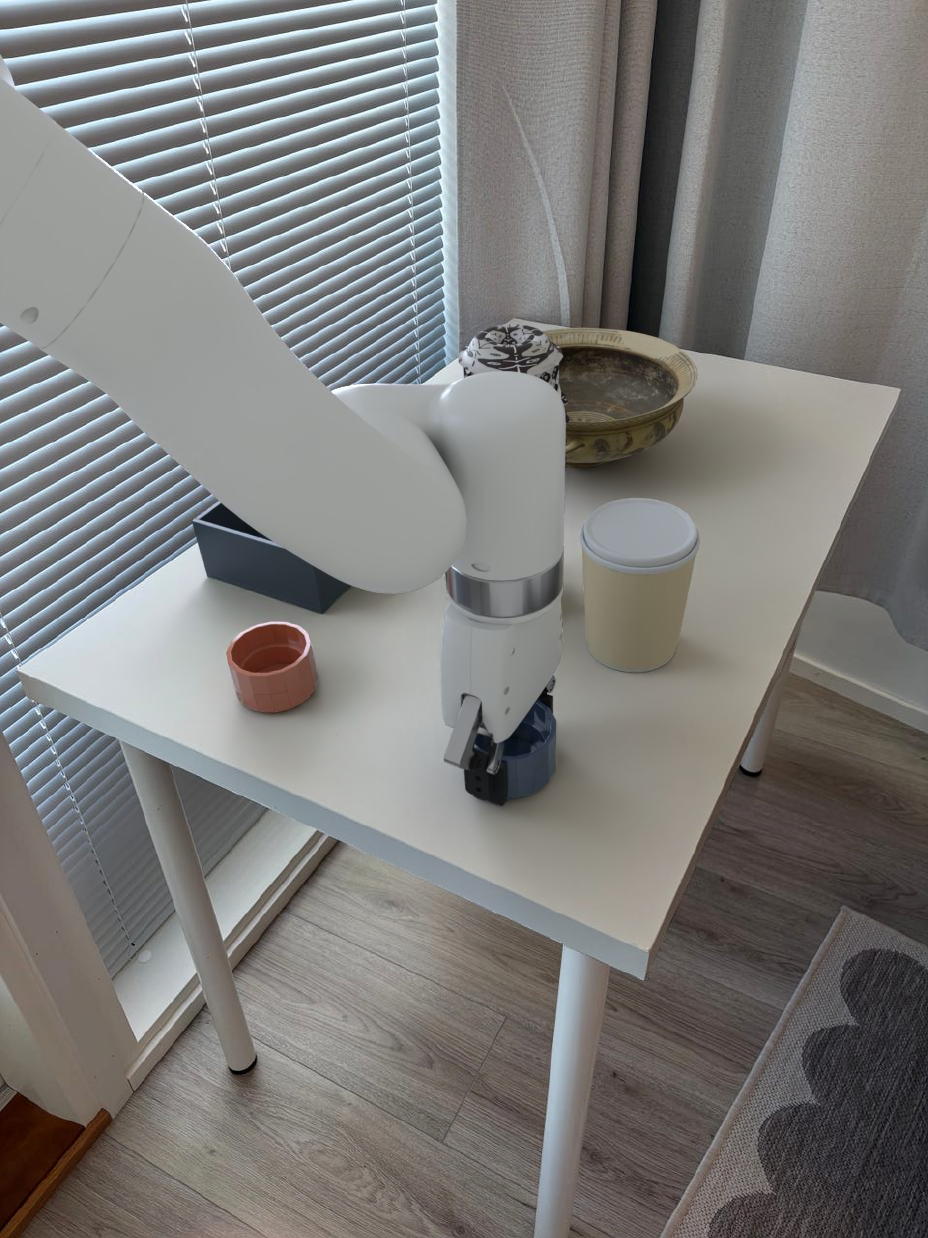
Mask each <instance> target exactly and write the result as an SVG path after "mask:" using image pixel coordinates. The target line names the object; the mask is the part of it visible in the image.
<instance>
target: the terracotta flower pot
mask: <svg viewBox="0 0 928 1238" xmlns="http://www.w3.org/2000/svg"><path fill="white" fill-rule="evenodd" d="M310 637H311V636H310V634H309V633H308V631H307V630H305V629H304V628H303V627H302V626H301V625H299V624H295V623H292V622H289V621H268V622H263V623H259V624H255V625H252V626H250V627H249V628H247V629H245V630H242V631H240V633H238V634H237V635H236V636H235V637H234V638H233V639H232V640H231V641H230V643H229V645H228V647H227V649H226V651H225V655H226V661H227V666H228V669H229V672H230V676H231V679H232V684H233V687H234V690H235V694H236V697H237V700H238V701H239V702H240V703H241V704H242V705H243V706H244V707H246V708H248V709H250V710H253V711H256V712H259V713H260V712H261V713H269V714H271V713H281V712H285V711H289V710H291V709H294V708H296V707H297V706H299V705H301V704H303V703H304V702H306V701H307V700H308V699H309V697H311V695H313V693H314V692H315V691H316V689H317V685H318V683H319V674H318V669H317V665H316V660H315V654H314V650H313V649H314V648H313V645H312V641H311V638H310Z"/></svg>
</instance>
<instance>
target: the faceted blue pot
mask: <svg viewBox="0 0 928 1238" xmlns="http://www.w3.org/2000/svg"><path fill="white" fill-rule="evenodd" d="M482 721H483V720H482ZM491 741H492V739H490V738H487V737H485V736H482V735H479V734H477V735H476V738H475V744H474V748H477V749H479V750H482V751H485V752H487V753H489V752H490V747H491ZM501 762H503V763H505V765H506V770H507V797H508V798H511V799H516V798H517V799H518V798H523V797H526V796H529V795H533V794H535V793H537V792H539V791H540V790H541V789H542V788H544V787H546V786H547V785H548V784H549V783H550V782H551V780H552V778H553V776H554V774H555V773H556V770H557V718H556V717H555V715H554V712H553V713H552V712H551V710H550V708H549V707H547V706H546V705H545V704H543V703H542V702H541V701H539V700H538V699H537V700H536V701H535V703H534V704H533V706H532V707H531V708H530V710H529V711H528V713H527V714H526V716H525V717H524V718H523V720H522V721H521V723H520V724H519V725H518V727H517V728H516V729H515V731H514V732H513V733H512V735H511V736H510V737H509V738H507V739H506V740H505V744H504V749H503V754H502V759H501Z"/></svg>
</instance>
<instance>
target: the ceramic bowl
mask: <svg viewBox="0 0 928 1238" xmlns="http://www.w3.org/2000/svg"><path fill="white" fill-rule="evenodd" d="M541 331H542V332H543V333H545V334H546V335H547V336H548V338H549V339H550V341H552V342H553V343H554V344H556V345H557V346H559V347H560V348H561V350H562V354H563V358H562V359H561V360H560V362H559V386H560V390H561V392H563V394H565V395H566V397H565V398H564V399H566V400H568V404H567V405H565V406H564V408H565V410H566V411H567V415H568V416H569V422H568V423H566V438H567V443H566V444H565V455H566V457H567V460H566V462H565V467H566V466H567V467H571V468H590V467H591V468H592V467H596V466H599V465H602V464H605V463H607V462H611V461H616V460H620V459H624V458H629V457H632V456H635V455H637V454H639V453H642V452H645V451H647V450H649V449H650V448H653V447H655V446H656V445H657V444H659V443H660V442H661V441H663V440H664V439H665V438H666V437H668V436H669V434H671V433H672V432H673V430H674V429H675V427H676V426H677V425H678V423H679V421H680V418H681V416H682V413H683V411H684V410H683V409H684V399H685V398H686V397H687V396H688V395H689V394H690V393H691V392H692V390H693V389H694V388H695V386H696V382H697V380H698V369H697V366H696V364H695V362H694V361H693V360H692V358H691V357H690V356H689V355H688V354H687V353H686V352H684V351H683V350H682V349H681V348H679V347H678V346H676V345H675V344H673V343H671V342H669V341H666V340H664V339H662V338H659V337H656V336H653V335H648V334H645V333H640V332H636V331H630V330H622V329H613V328H612V329H611V328H601V327H600V328H599V327H598V328H597V327H567V328H566V327H565V328H554V329H548V330H547V329H546V330H541Z"/></svg>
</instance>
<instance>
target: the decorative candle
mask: <svg viewBox="0 0 928 1238" xmlns="http://www.w3.org/2000/svg"><path fill="white" fill-rule="evenodd" d="M542 331H543V330H541V329H539V328H537V327H534V326H531V325H528V324H518V323H508V324H499V325H494V326H490V327H487V328H485V329H483V330H481V331H479V332H478V333H476V335H475V336H474V337H473V338H472V339H471V341H470V343H469V344H467V345H465V346H464V348H463V349H462V350H460V352H459V353H458V364H459V365H460V366H461V367H462V369H463V371H462V372H463V378H466V377H468V376H472V375H475V374H480V373H485V372H495V371H511V372H520V373H525V374H529V375H533V376H536V377H538V378H540V379H542V380H544V381H545V382H547V383H548V384H550V385H551V386H552V387H553V388H554V389H555V390H556V391H557V392H558V394H559V395H560V397H561V400H562V402H563V404H564V406H565V405H567V404H568V400H566V399H564V398H565V397H566V395H565V394H563V392H561V390H560V386H559V362H560V360H561V359H562V358H563V354H562V350H561V348H560V347H559V346H557V345H556V344H554V343H553V342H552V341H550V339H549V338H548V336H547V335H546V334H545V333H543V332H542ZM565 419H566V423H568V422H569V416H568V415H567V411H566V410H565ZM566 443H567V438H566V441H565V444H566ZM566 460H567V457H566V455H565V462H566Z"/></svg>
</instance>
